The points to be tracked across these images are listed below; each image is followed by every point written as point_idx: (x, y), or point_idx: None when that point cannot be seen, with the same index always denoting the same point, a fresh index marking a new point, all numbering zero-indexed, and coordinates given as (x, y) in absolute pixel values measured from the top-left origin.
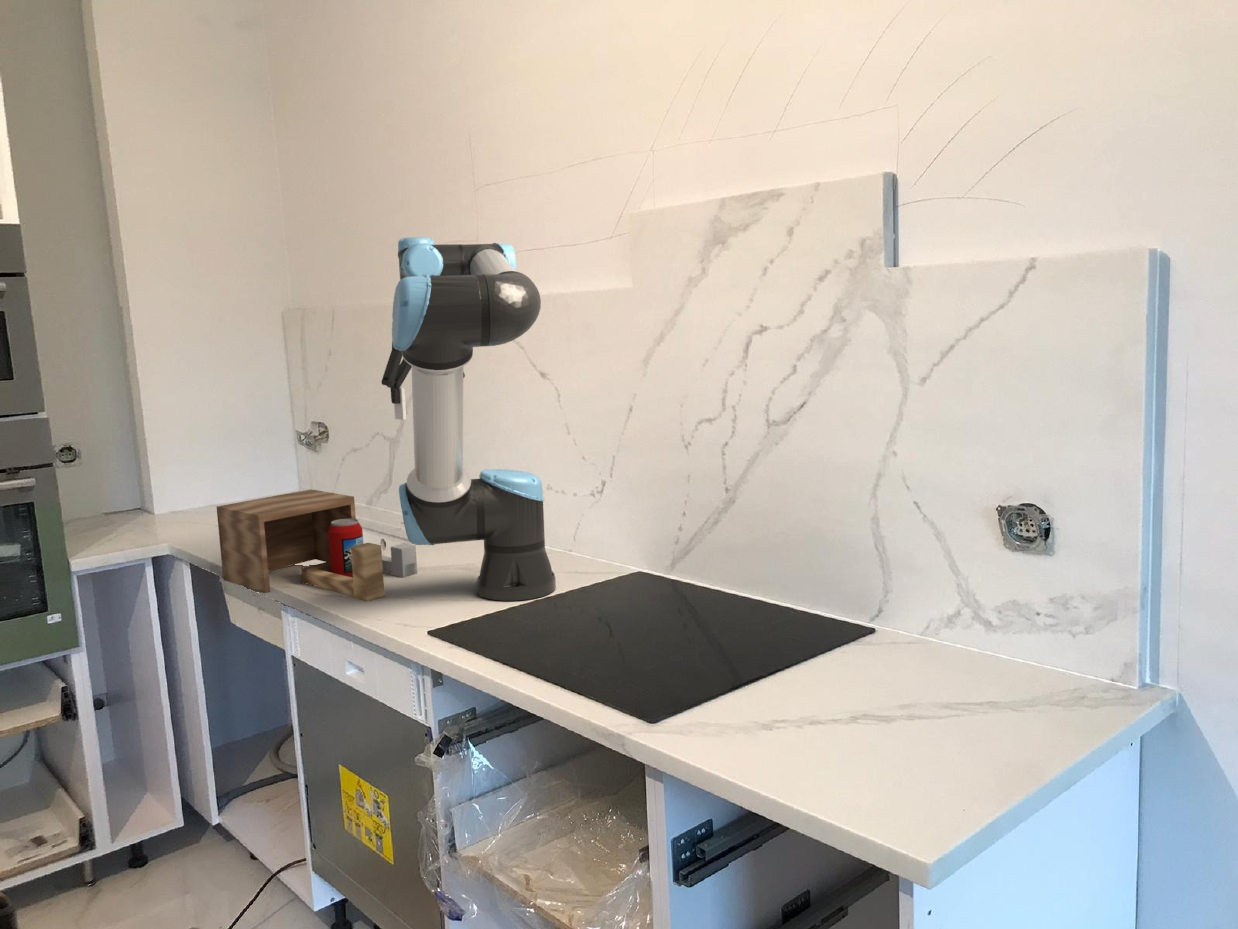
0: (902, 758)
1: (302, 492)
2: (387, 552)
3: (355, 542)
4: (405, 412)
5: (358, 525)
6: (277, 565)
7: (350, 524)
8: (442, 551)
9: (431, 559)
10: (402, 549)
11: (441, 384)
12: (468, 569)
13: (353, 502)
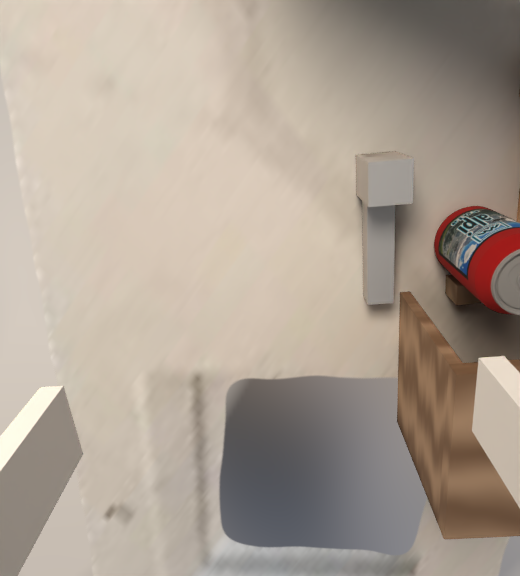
0: None
1: (485, 521)
2: (285, 354)
3: (511, 224)
4: (506, 383)
5: (508, 247)
6: None
7: None
8: (203, 274)
9: (260, 235)
10: (410, 158)
11: None
12: (258, 88)
13: (454, 365)
